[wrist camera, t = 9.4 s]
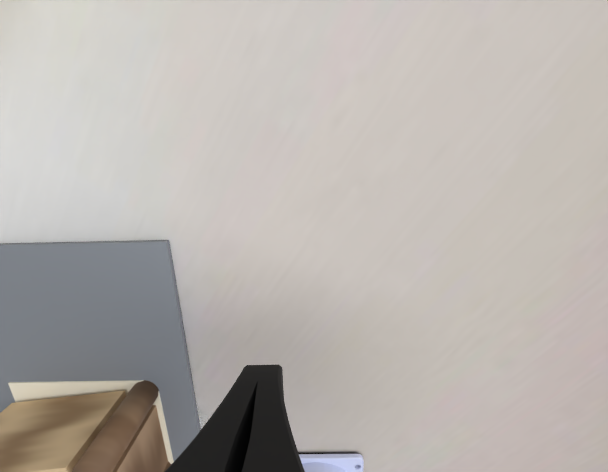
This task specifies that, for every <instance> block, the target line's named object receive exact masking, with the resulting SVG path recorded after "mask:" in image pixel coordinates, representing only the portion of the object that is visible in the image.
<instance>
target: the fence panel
mask: <svg viewBox="0 0 608 472" xmlns="http://www.w3.org/2000/svg"><path fill="white" fill-rule="evenodd" d="M125 397H126V394H125V391H116V392H107V393H98V394H89V395H79V396H70V397H61V398H52V399H43V400H34V401H25V402H16V403H11V404H10V405H9V406H8V407H7V408H5V409H4V410H3V411H2V412H1V413H0V472H72V470H73V467H74V466H75V465H76V463H77V462H78V461H79V459H80V458H81V457H82V455H83V454H84V453H85V451H86V450H87V448H88V447H89V446H90V444H91V443H92V442H93V440H94V439H95V438H96V436H97V435H98V433H99V432H100V431H101V429H102V428H103V427H104V425H105V424H106V423H107V421H108V420H109V418H110V417H111V416H112V414H113V413H114V412H115V410H116V409H117V408H118V406H119V405H120V403H121V402H122V401H123V399H124V398H125Z"/></svg>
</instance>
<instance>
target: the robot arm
mask: <svg viewBox="0 0 608 472" xmlns="http://www.w3.org/2000/svg"><path fill="white" fill-rule="evenodd" d="M363 464H364V461H363V456H362V455H360V454H298V451H297V448H296V445H295V442H294V439H293V435H292V432H291V428H290V425H289V421H288V417H287V413H286V408H285V403H284V394H283V376H282V367H281V366H280V365H247V366H246V367H244V369H243V371H242V372H241V374H240V375H239V377H238V379H237V380H236V382H235V383H234V385H233V387H232V388H231V390H230V391H229V393H228V394H227V396H226V397H225V398H224V400H223V401H222V403H221V404H220V405H219V407H218V408H217V410H216V411H215V412H214V414H213V415H212V416H211V418H210V419H209V420H208V422H207V423H206V424H205V425H204V427H203V428H202V429H201V430H200V432H199V433H198V434H197V436H196V437H195V438H194V439H193V440H192V442H191V443H190V444H189V445H188V446H187V448H186V449H185V450H184V451H183V452H182V453H181V454H180V456H179V457H178V458H177V459H176V460H175V461H174V462H173V463H172V464H171V465H170V467H169V468H168V469H167V470H166V471H165V472H363Z"/></svg>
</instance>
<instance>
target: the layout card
mask: <svg viewBox="0 0 608 472" xmlns="http://www.w3.org/2000/svg"><path fill="white" fill-rule="evenodd" d="M144 380H146V381H150V382H152V383H154V384H155V385H156V386H157V387H158V389H159V391H158V397H157V399H156V400H155V402H154V404H153V405H156V407H157V412H158V417H159V421H160V426H161V430H162V435H163V440H164V444H165V449H166V454H167V458H168V461H169V462H170V464H172V463H173V462H174V461H175V460H176V459H177V458H178V457H179V456H180V454H181V453H182V452H183V451H184V450H185V449H186V448H187V446H188V445H189V444H190V443H191V442H192V440H193V439H194V438H195V437H196V436H197V434H198V433H199V432H200V425H199V419H198V413H197V407H196V401H195V395H194V389H193V383H192V377H191V371H190V365H189V359H188V353H187V346H186V340H185V334H184V328H183V322H182V316H181V310H180V304H179V298H178V292H177V286H176V280H175V274H174V268H173V262H172V256H171V250H170V244H169V240H152V241H103V242H55V243H6V244H0V413H1V412H2V411H3V410H4V409H5V408H7V407H8V406H9V405H10V404H11V403H16V402H25V401H34V400H43V399H52V398H61V397H70V396H79V395H89V394H98V393H107V392H116V391H125V394H126V395H127V394H128V393H129V391H130V390H131V388H132V387H133V386H134V385H135V384H136V383H137V382H141V381H144Z"/></svg>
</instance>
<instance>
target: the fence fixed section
mask: <svg viewBox="0 0 608 472" xmlns="http://www.w3.org/2000/svg"><path fill="white" fill-rule="evenodd" d="M158 391H159V389H158V387H157V386H156V385H155V384H154V383H152V382H150V381H146V380H144V381H141V382H137V383H136V384H135V385H134V386H133V387H132V388H131V390H130V391H129V393H128V394H127V395H126V397H125V398H124V399H123V401H122V402H121V403H120V405H119V406H118V408H117V409H116V410H115V412H114V413H113V414H112V416H111V417H110V418H109V420H108V421H107V423H106V424H105V425H104V427H103V428H102V429H101V431H100V432H99V433H98V435H97V436H96V438H95V439H94V440H93V442H92V443H91V444H90V446H89V447H88V448H87V450H86V451H85V453H84V454H83V455H82V457H81V458H80V459H79V461H78V462H77V463H76V465H75V466H74V467H73V470H72V472H165V471H166V470H167V469H168V468H169V467H170V465H171V464H170V462H169V461H168V458H167V454H166V449H165V444H164V440H163V435H162V430H161V426H160V421H159V417H158V412H157V407H156V405H153V404H154V402H155V400H156V399H157V397H158Z"/></svg>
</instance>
